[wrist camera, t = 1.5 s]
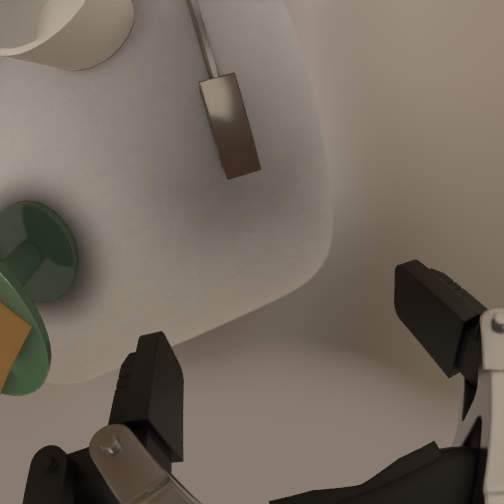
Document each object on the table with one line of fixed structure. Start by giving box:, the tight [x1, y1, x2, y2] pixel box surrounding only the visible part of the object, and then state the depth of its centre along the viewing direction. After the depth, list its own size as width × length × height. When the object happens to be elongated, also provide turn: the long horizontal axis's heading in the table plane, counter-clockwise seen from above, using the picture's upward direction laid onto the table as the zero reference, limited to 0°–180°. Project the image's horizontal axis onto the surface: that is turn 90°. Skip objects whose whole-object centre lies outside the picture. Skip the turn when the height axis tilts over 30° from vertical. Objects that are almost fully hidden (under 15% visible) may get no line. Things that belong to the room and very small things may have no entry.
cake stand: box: [0, 201, 78, 396], centre depth 19 cm, size 13×13×12 cm
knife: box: [187, 0, 261, 179], centre depth 20 cm, size 15×2×4 cm, turn 15°
